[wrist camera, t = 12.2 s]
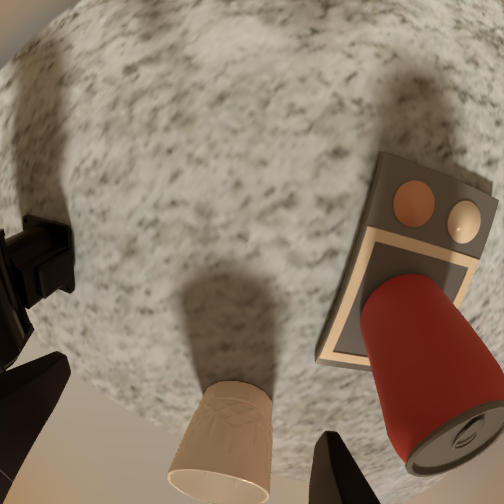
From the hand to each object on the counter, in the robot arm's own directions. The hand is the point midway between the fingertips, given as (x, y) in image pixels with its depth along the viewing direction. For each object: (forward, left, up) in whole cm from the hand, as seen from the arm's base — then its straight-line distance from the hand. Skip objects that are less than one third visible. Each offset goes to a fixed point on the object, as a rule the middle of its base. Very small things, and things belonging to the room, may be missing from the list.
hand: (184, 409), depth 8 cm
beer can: (+12, -1, -12) cm, 17 cm away
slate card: (+12, +1, -13) cm, 18 cm away
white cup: (+2, -15, -13) cm, 20 cm away
